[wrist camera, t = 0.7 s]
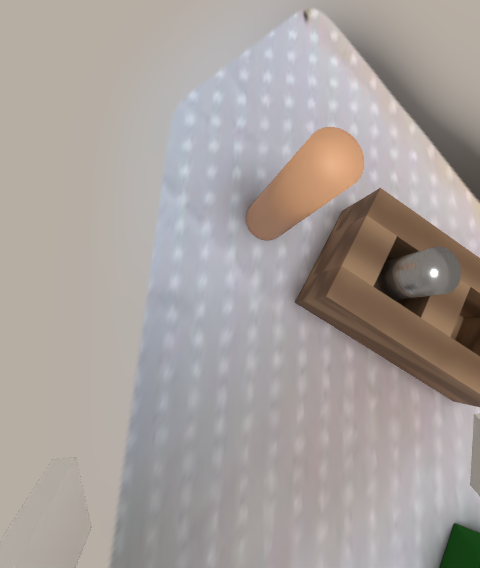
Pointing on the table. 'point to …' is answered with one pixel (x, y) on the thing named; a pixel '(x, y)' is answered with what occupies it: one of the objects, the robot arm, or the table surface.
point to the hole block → (405, 312)
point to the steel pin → (420, 274)
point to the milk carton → (462, 549)
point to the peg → (307, 182)
